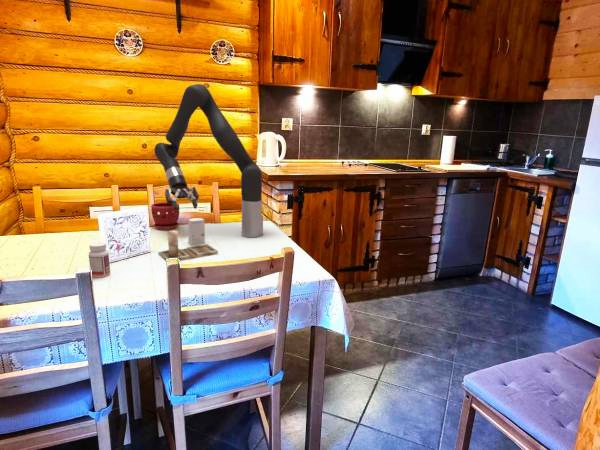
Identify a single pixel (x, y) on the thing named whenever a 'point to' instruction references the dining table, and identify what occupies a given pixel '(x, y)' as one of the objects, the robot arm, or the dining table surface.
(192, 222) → the skincare box
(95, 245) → the pill bottle
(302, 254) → the dining table surface
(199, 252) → the board
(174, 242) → the peg
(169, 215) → the plant pot
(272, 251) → the dining table surface
